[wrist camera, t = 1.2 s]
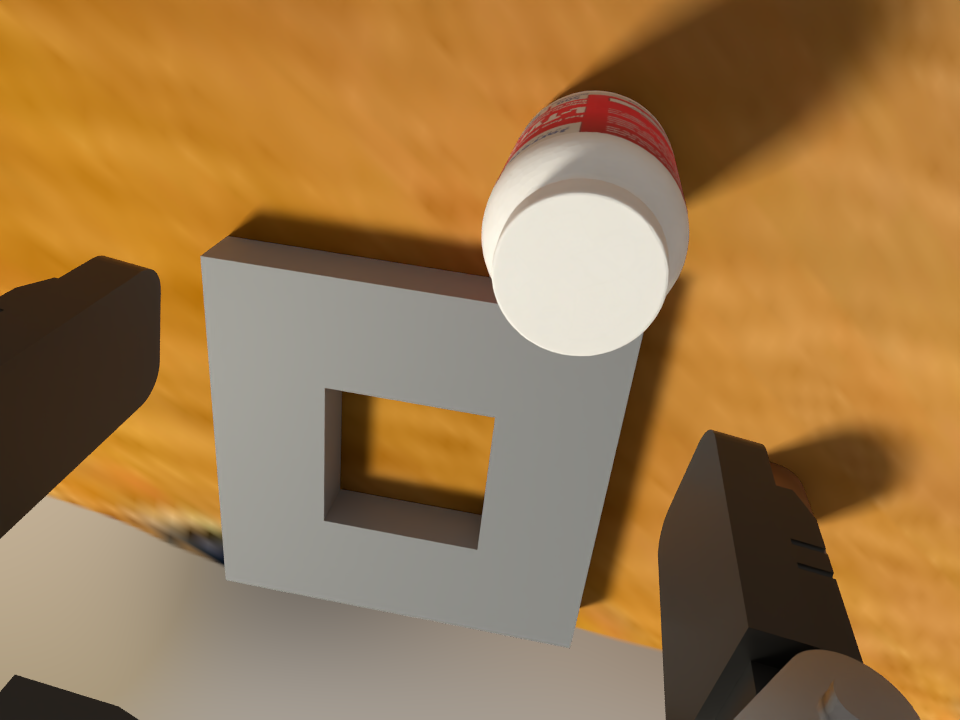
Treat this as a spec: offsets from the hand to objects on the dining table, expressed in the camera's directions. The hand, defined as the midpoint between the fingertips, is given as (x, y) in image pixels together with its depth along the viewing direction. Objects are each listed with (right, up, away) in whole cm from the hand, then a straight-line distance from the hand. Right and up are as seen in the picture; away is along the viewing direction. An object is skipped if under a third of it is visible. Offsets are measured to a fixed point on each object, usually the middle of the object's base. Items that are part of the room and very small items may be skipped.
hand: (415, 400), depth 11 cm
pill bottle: (+5, +8, +19) cm, 21 cm away
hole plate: (-2, -3, +26) cm, 26 cm away
